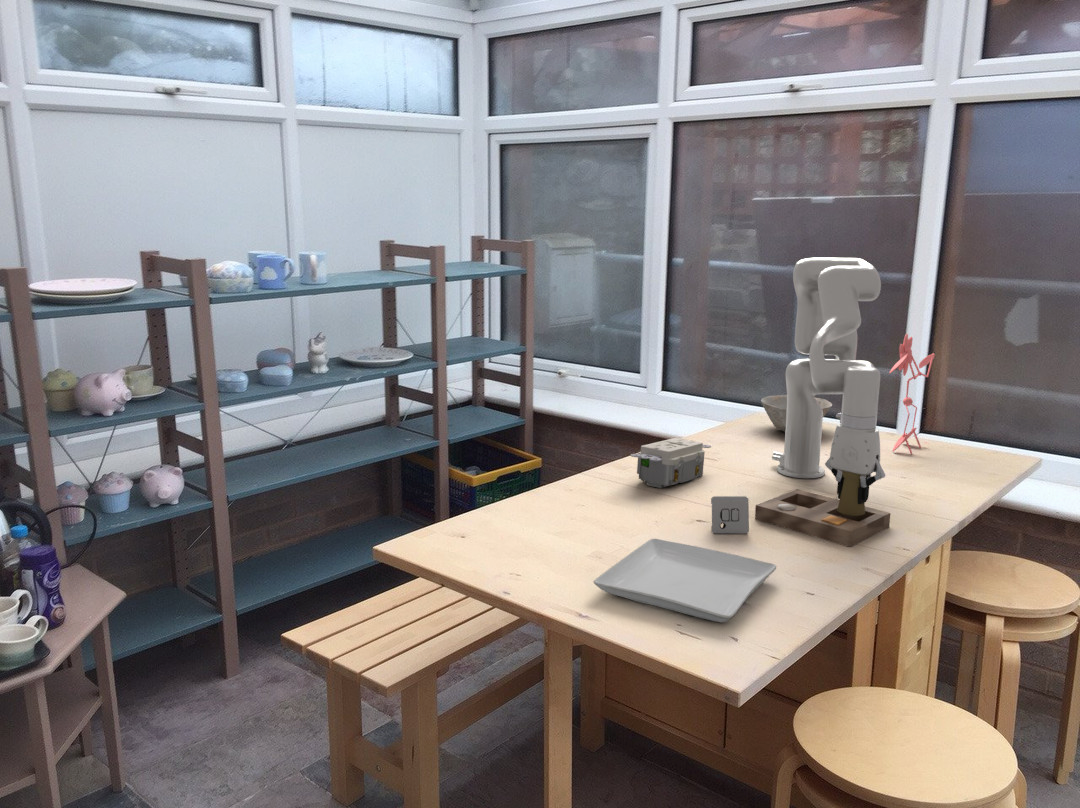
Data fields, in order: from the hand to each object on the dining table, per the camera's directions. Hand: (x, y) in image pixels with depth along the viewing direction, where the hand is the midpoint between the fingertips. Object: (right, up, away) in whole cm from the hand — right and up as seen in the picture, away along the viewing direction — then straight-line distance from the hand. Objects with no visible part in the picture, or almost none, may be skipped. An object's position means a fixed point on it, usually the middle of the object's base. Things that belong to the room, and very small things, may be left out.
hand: (852, 499), depth 206 cm
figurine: (+37, +8, +71) cm, 81 cm away
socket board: (-6, -6, +4) cm, 9 cm away
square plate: (-43, -14, -31) cm, 55 cm away
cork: (0, -3, +1) cm, 3 cm away
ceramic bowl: (+12, +12, +90) cm, 91 cm away
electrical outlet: (-36, +1, +38) cm, 52 cm away
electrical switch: (-28, -7, -1) cm, 29 cm away
